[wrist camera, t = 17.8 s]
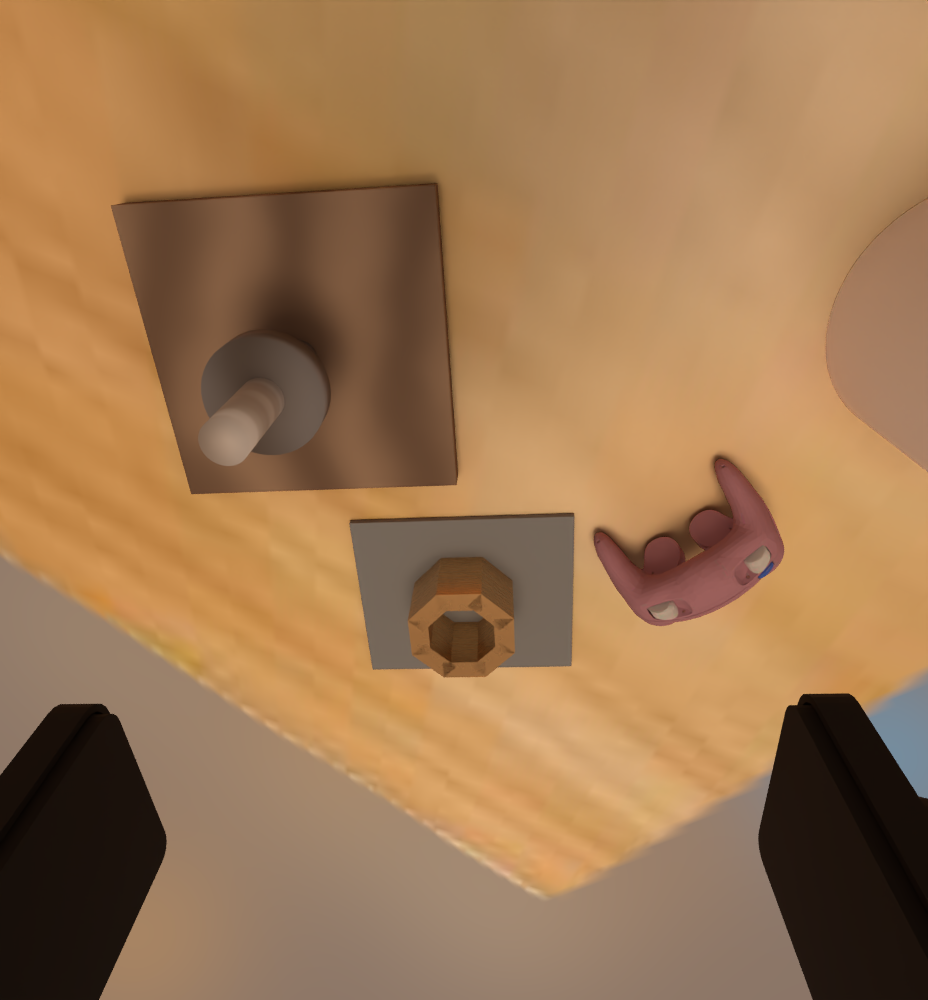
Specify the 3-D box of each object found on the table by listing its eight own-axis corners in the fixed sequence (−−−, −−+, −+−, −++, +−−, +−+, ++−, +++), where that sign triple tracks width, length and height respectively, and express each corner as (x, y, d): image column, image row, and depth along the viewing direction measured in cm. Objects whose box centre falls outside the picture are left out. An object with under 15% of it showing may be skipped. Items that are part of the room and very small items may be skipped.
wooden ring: (511, 555, 43) (513, 593, 40) (514, 635, 46) (515, 676, 43) (411, 558, 44) (404, 595, 40) (420, 636, 47) (414, 677, 43)
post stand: (437, 183, 34) (407, 208, 22) (457, 473, 41) (443, 604, 30) (125, 203, 35) (-57, 236, 23) (200, 482, 42) (91, 612, 31)
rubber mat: (573, 513, 42) (574, 516, 42) (570, 662, 48) (571, 666, 47) (350, 520, 43) (349, 523, 43) (373, 665, 49) (372, 669, 48)
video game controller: (612, 560, 46) (656, 652, 41) (582, 534, 42) (625, 631, 38) (748, 481, 42) (811, 571, 38) (726, 446, 39) (792, 540, 35)
